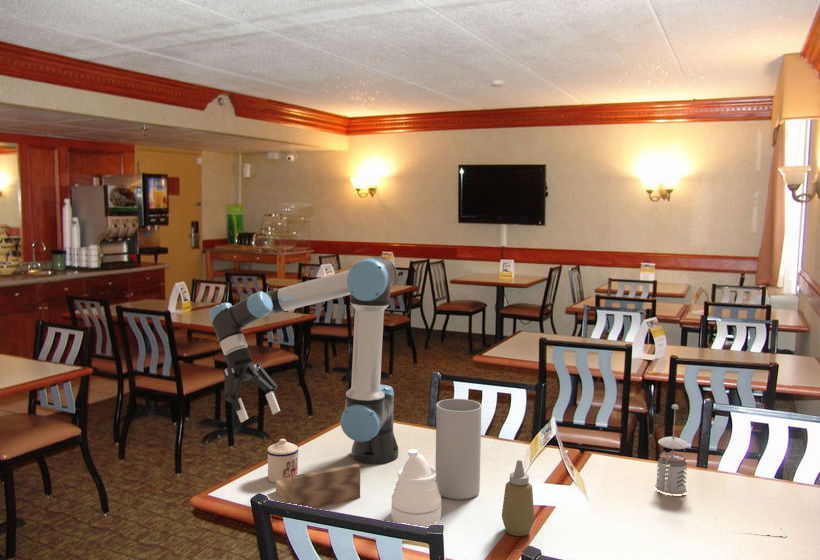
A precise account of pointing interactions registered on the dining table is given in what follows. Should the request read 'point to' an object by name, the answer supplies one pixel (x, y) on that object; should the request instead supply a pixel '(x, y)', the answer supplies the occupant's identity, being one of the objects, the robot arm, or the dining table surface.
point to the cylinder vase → (458, 448)
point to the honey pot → (416, 493)
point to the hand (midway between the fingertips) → (261, 416)
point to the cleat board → (321, 486)
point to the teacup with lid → (282, 460)
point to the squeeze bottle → (518, 503)
